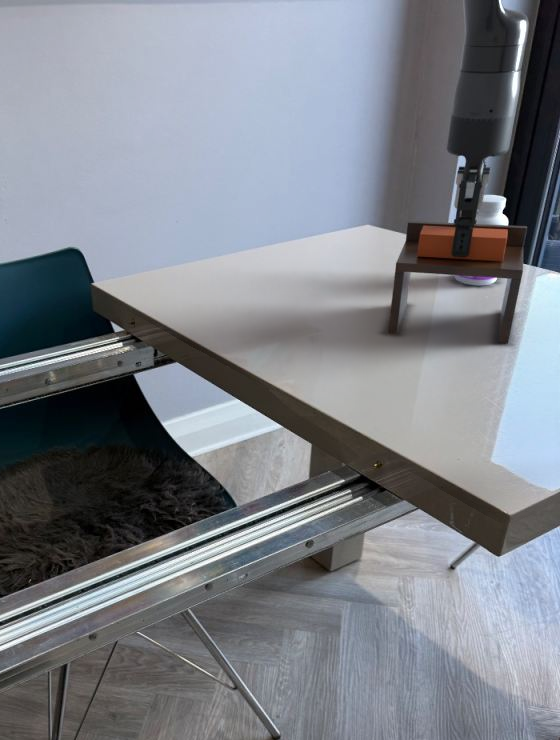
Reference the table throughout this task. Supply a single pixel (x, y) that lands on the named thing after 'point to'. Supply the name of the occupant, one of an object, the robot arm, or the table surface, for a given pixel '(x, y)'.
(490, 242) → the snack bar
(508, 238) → the shelf
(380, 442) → the table surface
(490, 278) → the supplement bottle
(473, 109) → the robot arm
